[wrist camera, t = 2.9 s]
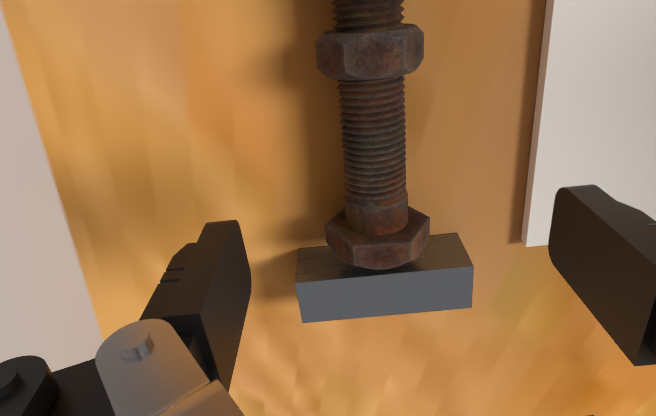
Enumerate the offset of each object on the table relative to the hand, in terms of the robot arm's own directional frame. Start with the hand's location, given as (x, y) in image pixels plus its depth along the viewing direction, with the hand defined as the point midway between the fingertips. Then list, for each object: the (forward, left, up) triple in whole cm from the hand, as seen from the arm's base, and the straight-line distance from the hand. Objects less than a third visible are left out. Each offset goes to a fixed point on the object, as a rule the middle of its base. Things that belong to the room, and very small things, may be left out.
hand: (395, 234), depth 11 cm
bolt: (-1, 0, -14) cm, 14 cm away
